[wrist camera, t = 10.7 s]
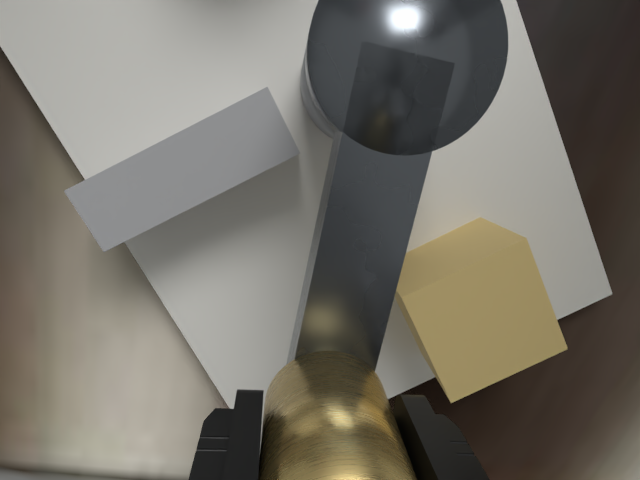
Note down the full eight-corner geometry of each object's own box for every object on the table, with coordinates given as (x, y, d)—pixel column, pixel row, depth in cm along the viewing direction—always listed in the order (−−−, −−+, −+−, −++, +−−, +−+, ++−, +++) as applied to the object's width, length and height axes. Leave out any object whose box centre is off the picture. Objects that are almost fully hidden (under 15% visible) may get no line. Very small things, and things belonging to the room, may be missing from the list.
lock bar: (324, -53, 12) (379, -342, 5) (496, -8, 12) (785, -201, 5) (239, 406, 15) (192, 661, 8) (378, 425, 16) (456, 679, 8)
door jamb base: (370, -390, 15) (421, -709, 9) (598, 286, 22) (708, 342, 16) (-96, -128, 16) (-312, -273, 10) (262, 444, 23) (253, 550, 17)
